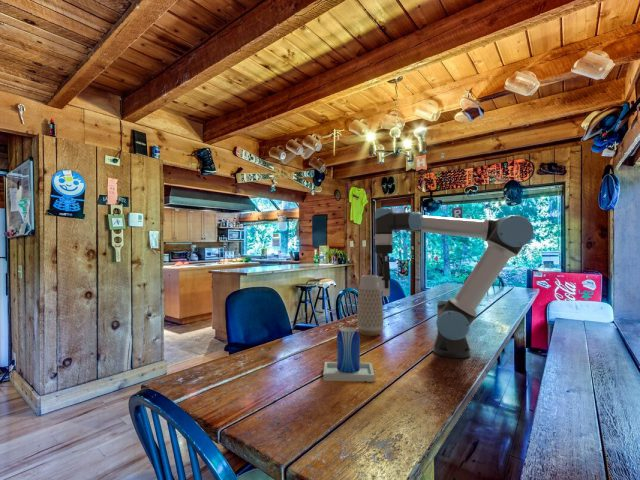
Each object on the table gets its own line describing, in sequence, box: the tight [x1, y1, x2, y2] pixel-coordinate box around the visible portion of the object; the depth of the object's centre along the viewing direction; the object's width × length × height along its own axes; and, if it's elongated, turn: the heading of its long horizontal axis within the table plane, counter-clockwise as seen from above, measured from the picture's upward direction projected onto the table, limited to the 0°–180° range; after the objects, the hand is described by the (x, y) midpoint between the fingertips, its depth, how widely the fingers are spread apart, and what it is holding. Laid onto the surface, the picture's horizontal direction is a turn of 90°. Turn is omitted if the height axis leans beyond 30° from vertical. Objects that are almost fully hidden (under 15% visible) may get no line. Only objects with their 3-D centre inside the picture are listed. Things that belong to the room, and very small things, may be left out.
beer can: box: [336, 326, 361, 374], centre depth 124 cm, size 8×8×16 cm
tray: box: [322, 361, 376, 383], centre depth 124 cm, size 18×12×2 cm, turn 87°
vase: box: [356, 274, 384, 337], centre depth 178 cm, size 14×14×31 cm
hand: (384, 293), depth 144 cm, fingers open, 13 cm apart
